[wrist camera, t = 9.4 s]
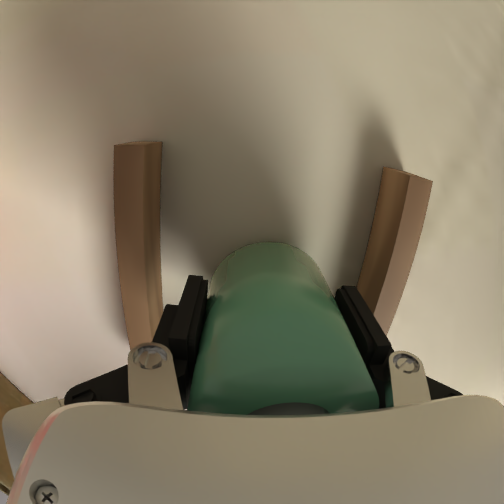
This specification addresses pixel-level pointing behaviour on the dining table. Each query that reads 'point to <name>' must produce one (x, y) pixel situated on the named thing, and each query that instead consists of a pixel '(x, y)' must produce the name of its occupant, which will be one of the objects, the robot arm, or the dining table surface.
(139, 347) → the robot arm
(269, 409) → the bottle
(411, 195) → the u rest
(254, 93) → the dining table surface
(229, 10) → the dining table surface
